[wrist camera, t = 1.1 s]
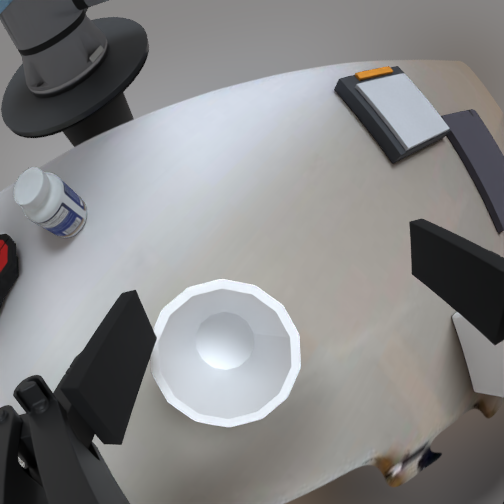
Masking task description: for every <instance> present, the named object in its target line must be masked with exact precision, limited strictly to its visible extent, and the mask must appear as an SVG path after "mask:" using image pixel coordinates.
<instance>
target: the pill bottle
mask: <svg viewBox="0 0 504 504" xmlns="http://www.w3.org/2000/svg"><path fill="white" fill-rule="evenodd" d="M13 195H14V199H15V201H16V203H17V204H19V205H20V206H22V209H23V212H24V214H25V215H26V217H27V218H28V219H29V220H31V221H32V222H34V223H36V224H38V225H39V226H41V227H43V228H45V229H46V230H48V231H50V232H52V233H53V234H55V235H57V236H59V237H63V238H68V237H72V236H74V235H75V234H77V233H78V232H79V231H80V230H81V228H82V227H83V225H84V223H85V221H86V217H87V208H86V205H85V202H84V201H83V200H82V199H81V197H79V196H78V195H77V194H76V193H75V192H74V191H73V190H72V189H71V188H70V187H69V186H68V185H67V184H66V183H64V182H63V181H62V180H61V179H60V178H59V177H58V176H57V175H55V174H53V173H50V172H45V173H44V172H43V171H42V170H41V169H40V168H37V167H31V168H29V169H27V170H25V171H24V172H23V173H22V174H21V175H20V176H19V178H18V179H17V181H16V183H15V186H14V192H13Z"/></svg>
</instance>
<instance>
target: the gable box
mask: <svg viewBox="0 0 504 504" xmlns="http://www.w3.org/2000/svg"><path fill="white" fill-rule="evenodd" d="M452 319H453V322H454V325H455V328H456V331H457V334H458V337H459V340H460V343H461V346H462V349H463V352H464V356H465V359H466V363H467V366H468V370H469V374H470V377H471V381H472V385H473V389H474V391H475V392H478V393H483V394H489V395H494V396H500V397H504V340H503V341H502V342H500V343H498V344H497V345H494V344H492V343H491V342H490V341H489V340H488V339H487V338H486V337H485V336H484V335H483V334H482V333H481V332H480V331H478V330H477V329H476V328H475V327H474V326H473V325H472V324H471V323H470V322H468V321H467V320H466V319H465V318H464V317H463V316H462V315H460V314H459V313H458V312H456V313H455V314H454V315H453V316H452Z"/></svg>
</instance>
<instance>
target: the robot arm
mask: <svg viewBox="0 0 504 504" xmlns="http://www.w3.org/2000/svg"><path fill="white" fill-rule="evenodd" d="M106 1H109V0H0V20H1V22H2V24H3V25H4V27H5V29H6V30H7V32H8V34H9V36H10V37H11V39H12V41H13V43H14V44H15V46H16V48H17V49H18V51H19V52H20V54H21V56H22V61H23V67H24V73H25V79H26V84H27V86H28V88H29V89H30V91H31V92H32V94H33V95H35V96H36V97H40V98H48V97H53V96H57V95H59V94H62V93H64V92H67V91H69V90H71V89H72V88H74V87H76V86H77V85H79V84H80V83H82V82H83V81H85V80H86V79H87V78H89V77H90V76H91V75H92V74H93V73H94V72H95V71H96V70H97V69H98V68H99V67H100V66H101V65H102V63H103V62H104V60H105V59H106V57H107V54H108V51H109V45H108V42H107V39H106V36H105V35H104V34H103V33H102V32H101V31H100V29H99V28H98V27H97V26H96V25H95V24H94V23H93V22H92V21H91V20H90V19H89V18H88V17H87V16H86V11H87V9H88V7H91V6H93V5H97V4H99V3H102V2H106ZM409 223H410V237H411V259H412V275H414V276H415V277H416V278H417V279H419V280H420V281H421V282H422V283H424V284H425V285H426V286H427V287H429V288H430V289H431V290H432V291H433V292H435V293H436V294H437V295H438V296H439V297H441V298H442V299H443V300H444V301H445V302H447V303H448V304H449V305H450V306H451V307H452V308H454V309H455V310H456V311H457V312H458V313H459V314H460V315H462V316H463V317H464V318H465V319H466V320H467V321H468V322H470V323H471V324H472V325H473V326H474V327H475V328H476V329H477V330H478V331H480V332H481V333H482V334H483V335H484V336H485V337H486V338H487V339H488V340H489V341H490V342H491V343H492V344H494V345H497V344H498V343H500V342H502V341H503V340H504V258H503V257H500V255H498V254H496V253H494V252H492V251H488V250H486V249H484V248H482V247H481V246H479V245H477V244H475V243H473V242H471V241H469V240H467V239H465V238H463V237H461V236H458V235H456V234H454V233H452V232H450V231H448V230H446V229H444V228H442V227H439V226H437V225H435V224H433V223H431V222H429V221H426V220H424V219H418V220H415V221H411V222H409ZM156 340H157V337H156V335H155V333H154V331H153V329H152V326H151V324H150V322H149V320H148V317H147V315H146V313H145V311H144V308H143V306H142V304H141V301H140V299H139V297H138V294H137V292H136V290H133V291H129V292H125V293H122V294H121V295H120V296H119V298H118V299H117V301H116V302H115V304H114V305H113V306H112V308H111V309H110V311H109V312H108V314H107V315H106V317H105V318H104V319H103V321H102V322H101V324H100V325H99V327H98V328H97V330H96V331H95V333H94V334H93V336H92V337H91V339H90V340H89V342H88V343H87V345H86V347H85V348H84V350H83V351H82V352H81V353H80V354H79V355H78V356H77V357H76V358H75V359H74V360H73V362H72V364H71V365H70V368H68V370H67V371H66V375H64V376H63V378H62V379H61V381H60V383H59V384H58V386H57V388H56V389H55V391H54V393H52V391H51V390H50V388H49V387H48V386H47V384H46V383H45V381H44V380H43V378H42V377H41V376H39V375H34V376H31V377H28V378H26V379H25V380H23V381H22V382H21V383H20V384H19V385H18V386H17V387H16V389H15V391H14V394H13V396H14V397H15V399H16V400H17V401H18V403H19V404H20V405H21V407H22V408H23V409H24V410H25V412H26V414H22V415H18V414H17V412H16V411H15V410H14V408H13V407H12V406H9V405H7V406H3V407H1V408H0V504H130V503H129V501H128V500H127V498H126V497H125V495H124V494H123V492H122V490H121V489H120V487H119V486H118V484H117V482H116V481H115V479H114V477H113V476H112V474H111V472H110V470H109V468H108V467H107V465H106V463H105V461H104V459H103V458H102V456H101V454H100V452H99V450H98V448H97V447H96V445H95V444H94V443H93V442H92V440H93V437H94V435H95V434H96V436H97V437H98V438H99V439H100V440H101V441H102V442H103V444H118V445H122V441H123V438H124V435H125V432H126V428H127V425H128V422H129V419H130V416H131V413H132V409H133V406H134V403H135V400H136V397H137V394H138V391H139V388H140V385H141V382H142V379H143V376H144V373H145V371H146V368H147V365H148V362H149V359H150V356H151V354H152V351H153V348H154V345H155V343H156ZM18 457H19V458H20V459H21V460H22V461H23V462H24V463H25V467H24V468H23V467H22V466H21V465H20V464H19V462H18ZM503 504H504V502H503Z"/></svg>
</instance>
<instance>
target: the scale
mask: <svg viewBox="0 0 504 504" xmlns="http://www.w3.org/2000/svg"><path fill="white" fill-rule="evenodd" d="M334 90H335V91H336V92H337V93H338V94H339V95H340V96H341V98H342V99H343V100H344V101H345V102H346V103H347V105H348V106H349V107H350V108H351V109H352V111H353V112H354V113H355V114H356V115H357V117H358V118H359V119H360V120H361V122H362V123H363V124H364V125H365V127H366V128H367V129H368V130H369V132H370V133H371V134H372V136H373V137H374V138H375V140H376V141H377V142H378V144H379V145H380V146H381V148H382V149H383V151H384V152H385V153H386V155H387V156H388V157H389V159H390V160H391V162H392V163H395V162H397V161H399V160H401V159H403V158H405V157H406V156H408V155H410V154H412V153H414V152H416V151H418V150H420V149H422V148H424V147H426V146H428V145H430V144H432V143H434V142H436V141H438V140H440V139H442V138H443V137H445V136H446V135H447V134H448V133H449V132H450V131H451V129H450V128H449V127H448V125H447V124H446V122H445V121H444V120H443V119H442V117H441V116H440V115H439V113H438V112H437V111H436V109H435V108H434V107H433V106H432V104H431V103H430V102H429V101H428V100H427V98H426V97H425V96H424V95H423V94H422V92H421V91H420V90H419V89H418V88H417V87H416V85H415V84H414V83H413V82H412V81H411V80H410V79H409V78H408V77H407V75H406V74H405V73H404V72H403V71H402V70H401V69H400V68H399V67H398V66H396V67H389V66H388V67H382V68H377V69H372V70H368V71H363V72H358V73H355V75H353V76H348V77H344V78H340V79H339V81H338V83H337V85H336V87H335V89H334Z"/></svg>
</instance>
